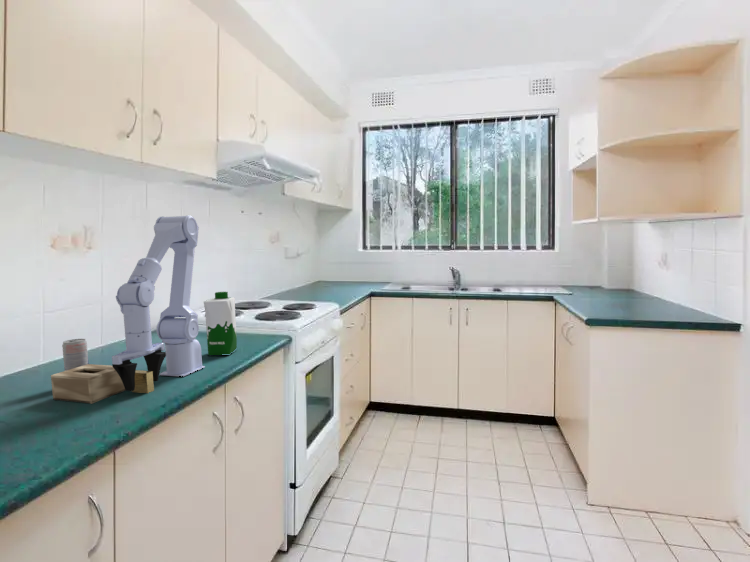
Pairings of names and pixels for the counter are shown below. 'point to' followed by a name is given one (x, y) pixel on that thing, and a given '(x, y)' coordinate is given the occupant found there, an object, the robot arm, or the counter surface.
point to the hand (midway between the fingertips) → (142, 385)
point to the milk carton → (220, 324)
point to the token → (143, 381)
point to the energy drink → (75, 353)
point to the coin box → (86, 384)
